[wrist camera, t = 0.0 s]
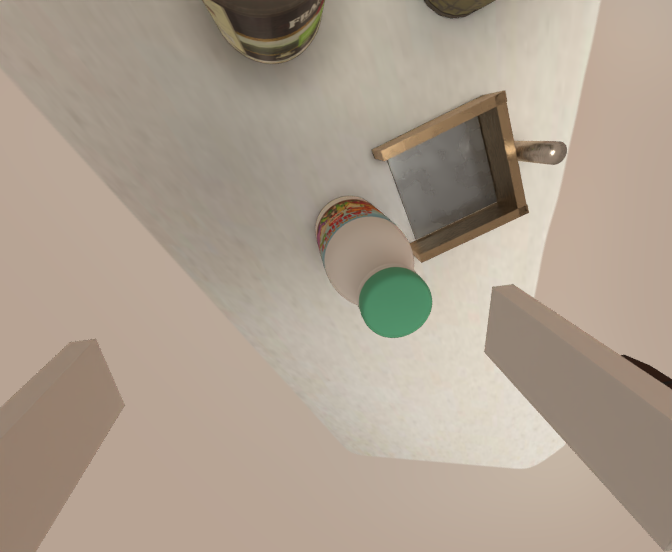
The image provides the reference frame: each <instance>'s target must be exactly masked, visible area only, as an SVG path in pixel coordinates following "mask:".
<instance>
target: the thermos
mask: <svg viewBox="0 0 672 552" xmlns="http://www.w3.org/2000/svg"><path fill="white" fill-rule="evenodd" d="M424 1H425V2H426V4H427V6H428V7H430V8H431V9H432V10H433V11H435V12H436V13H437V14H439V15H441V16H445V17H448V18H459V17H465V16H467V15H469V14H471V13H473V12H475V11H476V10H478V9H481V8H482V7H484V6H486V5H488V4H490V3H492V2H494V1H495V0H424Z"/></svg>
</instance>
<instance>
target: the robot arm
mask: <svg viewBox="0 0 672 552" xmlns="http://www.w3.org/2000/svg"><path fill="white" fill-rule="evenodd" d="M484 352H485V353H486V355H487V356H488V357H489V358H490V359H491V360H492V361H493V362H494V363H495V364H496V366H497V367H498V368H499V369H500V370H501V371H502V372H503V373H504V374H505V376H506V377H507V378H508V379H509V380H510V381H511V382H512V383H513V384H514V386H515V387H516V388H517V389H518V390H519V391H520V392H521V393H522V394H523V396H524V397H525V398H526V399H527V400H528V401H529V402H530V403H531V404H532V405H533V407H534V408H535V409H536V410H537V411H538V412H539V413H540V414H541V415H542V417H543V418H544V419H545V420H546V421H547V422H548V423H549V424H550V425H551V427H552V428H553V429H554V430H555V431H556V432H557V433H558V434H559V435H560V436H561V438H562V439H563V440H564V441H565V442H566V443H567V444H568V445H569V446H570V448H571V449H572V450H573V451H574V452H575V453H576V454H577V455H578V456H579V458H580V459H581V460H582V461H583V462H584V463H585V464H586V465H587V466H588V467H589V468H590V470H591V471H592V472H593V473H594V474H595V475H596V476H597V477H598V478H599V480H600V481H601V482H602V483H603V484H604V485H605V486H606V487H607V488H608V490H609V491H610V492H611V493H612V494H613V495H614V496H615V497H616V499H617V500H618V501H619V502H620V503H621V504H622V505H623V506H624V507H625V508H626V510H627V511H628V512H629V513H630V514H631V515H632V516H633V517H634V518H635V520H636V521H637V522H638V523H639V524H640V525H641V526H642V527H643V528H644V529H645V531H646V532H647V533H648V534H649V535H650V536H651V537H652V538H653V539H654V541H655V542H656V543H657V544H658V545H659V546H660V547H661V548H662V549H663V551H669V550H672V379H670V378H669V377H667V376H666V375H664V374H663V373H661V372H659V371H658V370H656V369H655V368H653V367H651V366H650V365H647V364H645V363H643V362H640V361H638V360H636V359H633V358H631V357H629V356H626V355H619V354H618V353H616V352H614V351H613V350H611V349H610V348H608V347H607V346H605V345H604V344H602V343H601V342H599V341H598V340H596V339H595V338H593V337H592V336H590V335H589V334H587V333H586V332H584V331H583V330H581V329H580V328H578V327H577V326H575V325H574V324H572V323H571V322H569V321H567V320H566V319H565V318H563V317H562V316H560V315H559V314H557V313H556V312H554V311H553V310H551V309H549V308H548V307H547V306H545V305H543V304H542V303H541V302H539V301H538V300H536V299H534V298H533V297H531V296H530V295H528V294H527V293H525V292H524V291H522V290H521V289H519V288H518V287H516V286H515V285H513V284H512V285H504V286H496V287H492V294H491V302H490V310H489V318H488V326H487V334H486V342H485V351H484ZM124 406H125V404H124V402H123V400H122V398H121V396H120V393H119V391H118V388H117V386H116V384H115V382H114V379H113V377H112V375H111V372H110V370H109V368H108V365H107V363H106V361H105V359H104V356H103V354H102V352H101V349H100V348H99V345H98V342H97V340H96V339H90V340H83V341H75V342H70V343H69V344H68V345H66V346H65V347H64V348H63V349H62V350H61V351H60V352H59V353H58V354H57V355H56V356H55V357H54V358H53V359H52V360H51V361H50V362H48V363H47V364H46V366H44V367H43V368H42V369H41V370H40V371H39V372H38V373H37V374H36V375H35V376H34V377H32V378H31V379H30V380H29V381H28V382H27V383H26V384H25V385H24V386H23V387H22V388H21V389H20V390H19V391H18V392H16V393H15V394H14V395H13V396H12V397H11V398H10V399H9V400H8V401H7V402H6V403H5V404H4V405H3V406H2V407H1V408H0V552H36V550H37V549H38V547H39V546H40V544H41V542H42V541H43V539H44V537H45V536H46V534H47V533H48V531H49V529H50V528H51V526H52V524H53V523H54V521H55V519H56V518H57V516H58V514H59V513H60V511H61V509H62V508H63V506H64V505H65V503H66V501H67V500H68V498H69V496H70V495H71V493H72V492H73V490H74V488H75V487H76V485H77V483H78V481H79V480H80V478H81V477H82V475H83V473H84V472H85V470H86V468H87V467H88V465H89V464H90V462H91V460H92V459H93V457H94V455H95V454H96V452H97V450H98V449H99V447H100V446H101V444H102V442H103V441H104V439H105V437H106V436H107V434H108V432H109V431H110V429H111V427H112V426H113V424H114V423H115V421H116V419H117V418H118V416H119V414H120V413H121V411H122V409H123V408H124Z"/></svg>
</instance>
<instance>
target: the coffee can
mask: <svg viewBox="0 0 672 552" xmlns="http://www.w3.org/2000/svg"><path fill="white" fill-rule="evenodd" d="M202 1H203V3H204V4H205V6H206V8H207V9H208V11H209V12H210V14H211V16H212V17H213V19H214V20H215V23H216V25H217V26H218V28H219V30H220V31H221V33H222V35H223V36H224V37H225V38H226V40H227V41H228V42H229V43H230V44H231V45H232V46H233V47H234V48H235V49H236V50H237V51H239V52H240V53H241V54H243V55H244V56H246V57H248V58H250V59H252V60H255V61H258V62H262V63H269V64H274V63H282V62H286V61H289V60H291V59H293V58H295V57H296V56H298V55H299V54H301V53H302V52H303V51H304V50H305V49H306V48H307V47H308V46H309V44H310V43H311V41H312V40H313V38H314V37H315V35H316V33H317V31H318V28H319V25H320V22H321V17H322V11H323V6H324V2H325V0H202Z"/></svg>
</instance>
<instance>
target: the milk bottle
mask: <svg viewBox="0 0 672 552" xmlns="http://www.w3.org/2000/svg"><path fill="white" fill-rule="evenodd" d="M315 232H316V239H317V243H318V247H319V250H320V254H321V258H322V261H323V264H324V268H325V270H326V273H327V276H328V278H329V280H330V282H331V283H332V285H333V287H334V288H335V289H336V291H337V292H338V293H339V294H340V295H341V296H343V297H344V298H345V299H347V300H348V301H350V302H352V303H354V304H356V305H358V307H359V309H360V312H361V315H362V317H363V319H364V321H365V323H366V325H367V326H368V327H369V328H370V329H371V330H372V331H373V332H375V333H376V334H378V335H380V336H383V337H388V338H398V337H403V336H406V335H409V334H411V333H413V332H414V331H416V330H417V329H419V328H420V327H421V326H422V325H423V324H424V323H425V321H426V320H427V318H428V316H429V314H430V312H431V308H432V296H431V292H430V290H429V287H428V286H427V284H426V283H425V282H424V281H423V279H422V278H421V277H420V276H419V275H418V274H417V273H416V272H415V271H414V256H413V252H412V249H411V246H410V244H409V241H408V240H407V238H406V237H405V235H404V234H403V232H402V231H401V230H400V229H399V228H398V227H397V226H396V225H395V224H394V223H393V222H392V221H391V220H390V219H388V218H387V217H386V216H385V215H384V214H383V213H381V212H380V211H379V210H378V209H377V208H375V207H374V206H373V205H372V204H371V203H369V202H368V201H366V200H364V199H362V198H359V197H355V196H344V197H340V198H337V199H335V200H333V201H331V202H330V203H328V204H327V205H326V206H325V207H324V208H323V209H322V211H321V212H320V214H319V216H318V218H317V222H316V228H315Z"/></svg>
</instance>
